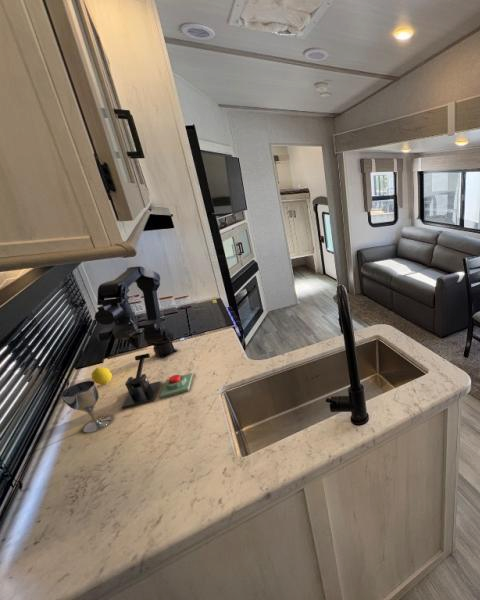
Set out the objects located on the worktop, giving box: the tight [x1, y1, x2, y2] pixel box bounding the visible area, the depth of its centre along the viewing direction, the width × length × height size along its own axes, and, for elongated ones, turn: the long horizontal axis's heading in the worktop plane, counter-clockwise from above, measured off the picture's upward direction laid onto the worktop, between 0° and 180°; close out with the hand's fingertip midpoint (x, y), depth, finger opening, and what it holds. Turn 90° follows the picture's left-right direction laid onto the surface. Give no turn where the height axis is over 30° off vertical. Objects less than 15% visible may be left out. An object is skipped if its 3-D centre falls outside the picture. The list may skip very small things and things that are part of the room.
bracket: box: [121, 373, 161, 410], centre depth 116 cm, size 12×9×8 cm
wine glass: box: [60, 380, 112, 434], centre depth 101 cm, size 8×8×15 cm
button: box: [168, 374, 181, 384], centre depth 120 cm, size 4×4×2 cm
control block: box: [159, 373, 194, 399], centre depth 121 cm, size 11×9×3 cm
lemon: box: [91, 366, 113, 385], centre depth 123 cm, size 6×6×8 cm
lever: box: [131, 352, 151, 388], centre depth 119 cm, size 15×4×2 cm, turn 25°
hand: (138, 348), depth 125 cm, fingers closed
